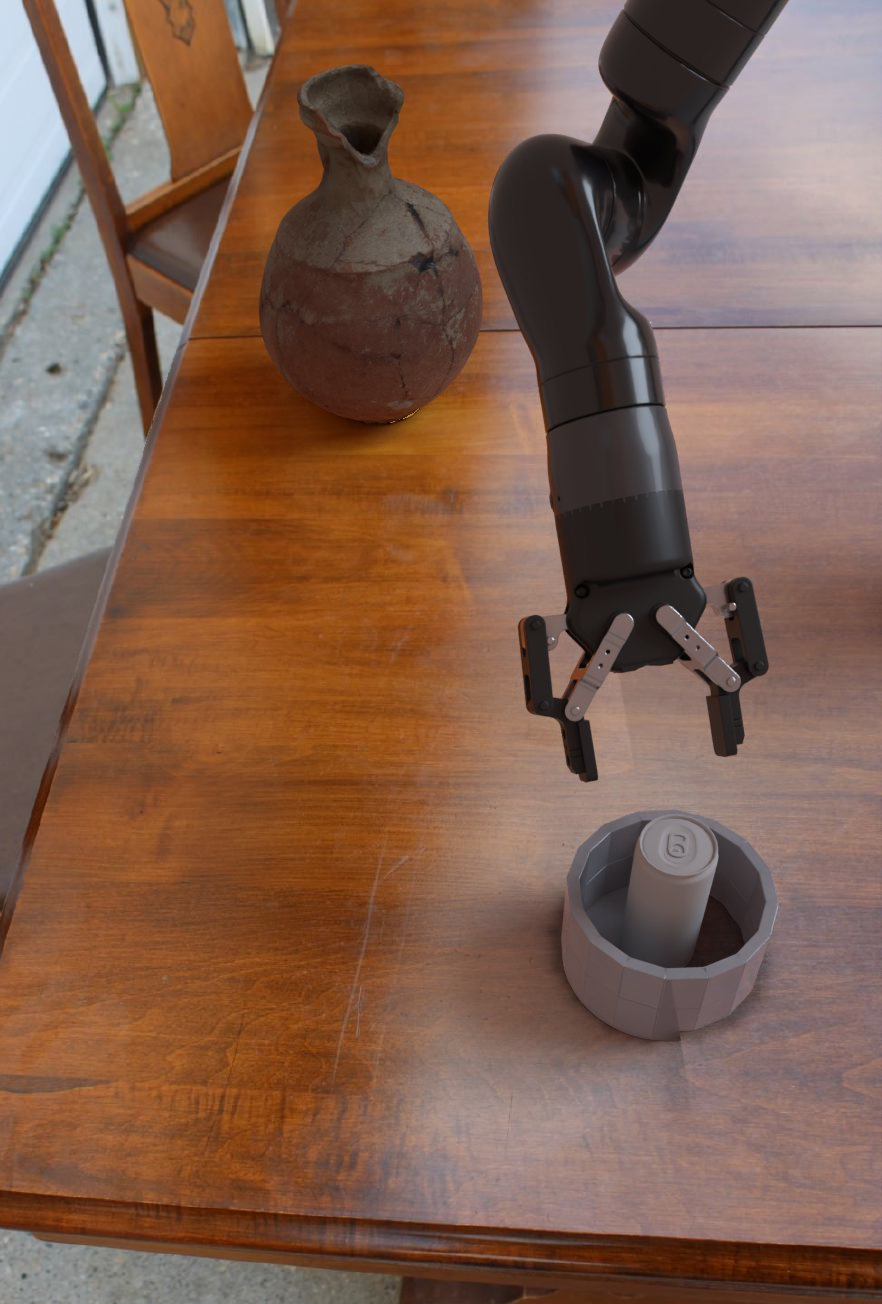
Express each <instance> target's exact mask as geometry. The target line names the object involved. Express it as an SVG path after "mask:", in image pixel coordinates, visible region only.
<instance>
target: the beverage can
mask: <svg viewBox="0 0 882 1304" xmlns="http://www.w3.org/2000/svg"><path fill="white" fill-rule="evenodd" d="M717 862H718V844H717V840H716V838H715V835H714V833H713V832H712V831H711V830H710V829H709V827H708V826H706V825H705V824H704V823H702V822H701V821H699V820H697V819H695V818H693V817H690V816H686V815H681V814H670V815H664V816H660V817H658V818H656V819H653V820H652V821H651V822H649V823H648V824H647V825H646V826H645V827H644V829H643V830H642V832H641V835H640V836H639V838H638V840H637V844H636V847H635V853H634V859H633V865H632V871H631V877H630V883H629V889H628V895H627V901H626V908H625V914H624V920H623V926H622V932H621V938H620V948H621V951H622V952H623V953H625V954H626V955H628V956H629V957H630V958H634V959H637V960H640V961H644V962H647V963H650V964H653V965H657V966H660V967H663V968H686V967H687V966H688V965H689V964H690V962H691V961H692V959H693V957H694V953H695V951H696V950H695V949H696V945H697V943H698V938H699V935H700V931H701V927H702V923H703V919H704V915H705V912H706V908H707V904H708V900H709V897H710V895H709V893H710V889H711V885H712V881H713V878H714V874H715V870H716V866H717Z"/></svg>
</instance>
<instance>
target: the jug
mask: <svg viewBox="0 0 882 1304" xmlns="http://www.w3.org/2000/svg"><path fill="white" fill-rule="evenodd" d="M405 99H406V97H405V92H404V91H403V89H402V87H401V86H400V85H399V84H398V83H396V82H394V81H391V80H389V79H387V78H385V77H383V76H382V75H381V74H380V73H379V72H378V71H377V70H376V69H375V68H374V67H373V66H371V65H370V64H364V63H354V64H352V63H351V64H345V65H340V66H335V67H332V68H329V69H325V70H323V71H320V72H318V73H316V74H314V75H313V76H310V77H309V78H308V79H307V80H305V81H304V82H303V83H302V85H301V86H300V88H299V90H298V91H297V93H296V101H297V104H298V115H299V118H300V121H302V123H303V125H304V126H305V127H306V128H307V129H309V130H311V131H312V132H313V134H314V137H315V138H316V146H317V151H318V154H319V157H320V162H321V164H322V168H323V170H322V178H321V180H320V182H319V184H318V186H317V187H316V188H315V189H314V190H312V192H310V193H309V194H307V195H306V196H304V197H303V198H301V199H300V200H299V201H298V202H296V203H295V205H293V206H292V207H291V208H290V209H289V210H288V211H287V212H286V213H285V215H283V217H282V219H281V221H280V223H279V225H278V226H277V229H276V233H275V236H274V239H273V241H272V243H271V246H270V249H269V251H268V255H267V257H266V261H265V265H264V270H263V274H262V279H261V285H260V291H259V300H258V301H259V302H258V318H259V319H258V320H259V327H260V334H261V337H262V340H263V343H264V346H265V349H266V351H267V353H268V355H269V357H270V360H272V363H273V364H274V366H275V367H276V370H278V372H279V373H280V374H281V376H282V377H283V378H284V380H285V381H286V382H287V383H288V384H289V385H290V386H291V387H292V388H293V389H294V390H295V391H296V392H297V393H298V394H300V396H301V397H303V398H305V400H308V401H309V402H311V403H312V404H314V405H315V406H317V407H318V408H321V409H322V410H324V411H326V412H329V413H331V414H334V415H335V416H338V417H341V418H345V419H351V420H354V421H358V422H359V421H362V422H364V423H365V424H366V423H367V424H366V425H369V424H368V423H370V424H376V423H375V422H378V423H377V424H388V423H387V422H393V421H397V420H399V419H403V418H405V417H407V416H408V415H410V414H412V413H414V412H415V411H416V410H417V409H418V408H420V407H421V408H423V407H425V406H427V405H429V404H430V403H431V402H433V401H434V400H436V399H437V398H438V397H439V396H441V395H442V394H443V393H444V392H445V391H446V390H447V389H448V388H449V387H450V386H451V384H452V383H453V382H454V381H456V379H457V377H458V376H459V375H460V374H461V372H462V370H464V368H465V366H466V364H467V362H468V361H469V359H470V357H471V355H472V353H473V351H474V349H475V347H476V344H477V341H478V338H479V336H480V333H481V332H480V331H481V326H482V322H483V321H482V320H483V310H484V308H483V307H484V306H483V305H484V298H483V297H484V295H483V284H482V279H481V275H480V271H479V267H478V264H477V260H476V258H475V254H474V252H473V249H472V248H471V246H470V244H469V242H468V240H467V238H466V236H465V234H464V233H463V231H462V229H461V228H460V226H459V224H458V223H457V221H456V220H455V217H454V215H453V213H452V211H451V210H450V208H449V206H447V204H446V203H445V202H444V201H443V200H441V198H440V197H438V196H437V195H436V194H434V193H432V192H431V191H430V190H428V189H426V188H425V187H422V186H420V185H418V184H415V183H412V182H410V181H407V180H406V179H405V180H404V179H402V178H399V177H397V176H393V174H392V170H391V167H390V163H389V148H388V147H389V143H390V139H391V137H392V135H393V133H394V131H395V129H396V127H397V126H398V124H399V119H400V117H399V116H400V113H401V110H402V108H403V105H404V103H405ZM421 408H420V409H421ZM397 422H398V421H397Z"/></svg>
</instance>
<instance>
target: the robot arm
mask: <svg viewBox="0 0 882 1304" xmlns="http://www.w3.org/2000/svg"><path fill="white" fill-rule="evenodd" d="M789 1H790V0H626V1H625V3H624V5H623V8H622V9H620V11H619V13H618V15H617V17H616V19H615V21H614V22H613V23H612V26H611V27H610V30H609V31H608V32H607V35H606V37H605V39H604V41H603V44H602V46H601V48H600V52H599V55H598V60H597V61H598V62H597V63H598V64H597V65H598V67H597V68H598V72H599V76H600V78H601V81H602V83H603V84H604V86H605V87H606V88H607V90H608V91H609V93H610V94H611V95H612V96H611V100H610V103H609V106H608V108H607V110H606V113H605V115H604V117H603V120H602V122H601V125H600V127H599V130H598V132H597V134H596V136H595V138H594V139H593V141H592V142H587V141H585V140H583V139H580V138H576V137H573V136H569V135H565V134H561V133H541V134H537V135H533V136H531V137H528V138H526V139H524V140H523V141H521V142H519V143H518V144H516V145H515V146H514V147H513V148H512V150H510V151H509V152H508V154H507V155H506V156H505V158H504V159H503V161H502V162H501V164H500V166H499V167H498V169H497V171H496V173H495V176H494V178H493V182H492V185H491V189H490V193H489V200H488V209H487V227H488V238H489V244H490V249H491V253H492V257H493V261H494V265H495V267H496V270H497V273H498V277H499V279H500V282H501V284H502V287H503V289H504V292H505V295H506V298H507V300H508V302H509V305H510V308H511V310H512V313H513V315H514V318H515V320H516V324H517V325H518V328H519V331H520V332H521V335H522V338H523V339H524V342H525V343H526V346H527V348H528V350H529V352H530V354H531V357H532V360H533V363H534V367H535V373H536V382H537V387H538V395H539V399H540V400H539V402H540V407H541V414H542V421H543V426H544V433H545V441H546V442H545V443H546V457H547V458H546V464H547V479H548V485H549V495H548V498H549V505H550V509H551V511H552V512H553V518H554V524H555V525H554V526H555V531H556V536H557V544H558V549H559V556H560V562H561V569H562V575H563V581H564V587H565V592H566V604H565V609H564V612H563V614H555V615H547V616H546V615H545V616H542V615H539V614H531V615H528V616H523V617H522V618H521V619H519V621H518V623H517V632H518V643H519V644H518V645H519V652H520V663H521V673H522V682H523V692H524V701H525V708H526V710H527V712H528V713H529V714H530V715H534V716H541V717H546V718H552V719H554V720H555V721H556V722H557V723H558V724H559V726H560V732H561V738H562V744H563V749H564V756H565V763H566V767H567V768H568V770H569V771H570V773H571V774H573V775H578V778H579V780H580V782H584V783H591V782H592V783H593V782H597V781H598V780H599V772H598V765H597V759H596V753H595V748H594V747H595V746H594V740H593V735H592V728H591V722H590V719H585V715H586V713H587V712H588V709H589V707H590V705H591V702H592V701H593V699H594V698H595V695H596V693H597V691H598V690H599V689H600V688H602V686H603V684H604V682H605V681H606V680H607V679H606V678H607V677H608V674H609V673H612V674H625V673H630V672H635V671H638V670H639V669H641V668H644V667H662V666H669V665H672V664H674V662H676V661H677V662H678V663H679V664H681V666H683V667H684V668H685V669H687V670H688V671H690V672H691V673H692V674H693V675H695V676H696V677H697V678H698V679H699V680H700V681H701V682H702V683H703V684H704V685H705V686H706V687H707V688H708V689H709V692H710V694H709V695H705V699H706V700H705V701H706V707H707V714H708V720H709V726H710V727H709V728H710V732H711V733H710V734H711V740H712V748H713V751H714V754H715V756H717V757H721V758H726V757H733V756H737V754H738V746H739V745H743V744H744V740H745V736H746V733H745V727H744V721H743V713H742V706H741V699H740V692H741V689H742V688H743V686H744V685H746V684H747V683H749V682H750V681H752V680H754V679H755V678H757V677H762V676H764V675H766V674H767V673H768V671H769V669H770V663H769V658H768V654H767V649H766V644H765V639H764V634H763V629H762V623H761V618H760V613H759V609H758V604H757V599H756V594H755V589H754V584H753V581H752V580H751V579H750V578H749V577H746V576H740V577H733V578H729V579H727V580H723V581H722V582H721V583H720V584H715V585H711V586H707V587H703V586H702V585H701V584H700V582H699V581H698V578H697V575H696V573H695V566H694V565H695V563H694V557H693V556H694V555H693V549H692V543H691V536H690V529H689V521H688V515H687V507H686V502H685V493H684V488H683V480H682V474H681V467H680V460H679V453H678V448H677V443H676V439H675V436H674V432H673V429H672V427H671V423H670V419H669V414H668V409H667V407H666V406H667V403H666V396H665V390H664V383H663V375H662V368H661V362H660V356H659V350H658V345H657V339H656V336H655V332H654V329H653V326H652V323H651V322H650V320H649V319H648V317H647V316H646V315H645V314H644V313H643V312H642V311H640V310H639V309H637V308H636V307H635V306H634V305H632V304H631V303H630V302H628V300H626V298H624V296H623V295H622V293H621V291H620V289H619V287H618V283H617V280H616V277H618V276H620V275H621V274H623V273H624V272H626V271H627V270H628V269H629V268H631V267H632V266H633V265H634V264H635V263H637V261H638V260H639V259H640V258H641V257H642V256H643V255H644V254H645V253H646V252H647V250H648V249H649V248H650V247H651V246H652V244H653V243H654V242H655V240H656V239H657V237H658V236H659V234H660V232H661V231H662V229H663V227H664V226H665V224H666V223H667V220H668V219H669V216H670V214H671V212H672V210H673V207H674V205H675V203H676V201H677V199H678V196H679V194H680V192H681V189H682V187H683V185H684V182H685V181H686V178H687V176H688V173H689V171H690V169H691V166H692V164H693V162H694V160H695V157H696V156H697V153H698V151H699V149H700V146H701V143H702V140H703V137H704V134H705V131H706V129H707V126H708V124H709V121H710V119H711V117H712V115H713V113H714V112H715V110H716V108H717V107H718V106H719V105H720V103H721V102H722V101H723V99H724V98H725V96H726V95H727V94H728V93H729V91H730V88H731V87H732V86H733V85H734V83H735V82H736V80H737V79H738V77H739V76H740V74H741V73H742V72H743V70H744V69H745V67H746V66H747V64H748V63H749V61H750V60H751V59H752V57H753V55H754V54H755V52H756V51H757V50H758V48H759V46H760V45H761V43H762V42H763V40H764V39H765V38H766V36H767V34H768V33H769V32H770V30H771V29H772V27H773V26H774V24H775V23H776V21H777V20H778V18H779V17H780V15H781V14H782V12H783V10H785V8H786V7H787V5H788V4H789ZM707 605H708V606H709V607H710V608H711V609H712V611H713V613H714V615H715V616H716V618H719V619H723V621H724V625H725V631H726V635H727V641H728V645H729V649H730V650H729V651H730V655H731V660H732V663H730V664H728V663H727V662H726V661H725V660H724V659H723V658H722V657H720V655H719V652H718V651H717V649H716V648H714V647H713V646H712V645H711V644H710V643H709V642H708V641H707V640H706V639H705V638H704V637H703V636H702V635H701V634H700V633H699V632H698V631H697V630H695V629H696V628H697V625H698V624H699V622H700V620H701V618H702V615H703V614H704V613H705V609H706V607H707ZM564 631H565V633H566V634H567V636H569V637H570V638H571V639H572V641H573V642H575V643H576V644H577V645H578V646H579V647H580V648H581V649H582V650H583V651H582V654H581V655H580V657H579V659H578V662H577V663H576V665H575V666H574V669H573V670H572V673H571V675H570V677H569V682H568V684H567V685H566V688H565V690H564V692H563V694H562V695H561V698H560V697H554V694H553V693H554V692H553V684H552V675H551V674H552V673H551V664H550V655H549V654H550V653H549V652H551V651H553V650H555V649H556V648H557V646H558V644H559V637H560V635H561V634H562V633H563V632H564Z"/></svg>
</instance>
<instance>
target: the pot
mask: <svg viewBox="0 0 882 1304" xmlns="http://www.w3.org/2000/svg"><path fill="white" fill-rule="evenodd" d="M670 814H681V815H686V816H690V817H693V818H695V819H697V820H699V821H701V822H702V823H704V824H705V825H706V826H708V827H709V829H710V830H711V831H712V832H713V833H714V835H715V838H716V840H717V844H718V862H717V866H716V870H715V874H714V878H713V881H712V885H711V889H710V893H709V897H712V898H713V899H714V900H716V901H718V902H719V903H720V904H722V905H723V906H724V908H725V909H726V910H727V912H728V913H729V915H730V916H731V917H732V919H733V920H734V921H735V923H736V924H737V926H738V927H739V928H740V931H741V935H742V936H741V937H742V940H743V946H742V947H741V948H740V949H739V950H738V951H737V952H736V953H734V954H732V955H730V956H727V957H725V958H722V959H719V960H718V961H715V962H712V963H711V964H708V965H705V966H697V967H695V966H694V967H690V966H689V967H684V968H663V967H660V966H657V965H653V964H650V963H647V962H644V961H640V960H637V959H634V958H630V957H629V956H628V955H626V954H625V953H623V952H622V951H621V948H620V938H621V932H622V926H623V920H624V914H625V908H626V901H627V895H628V889H629V883H630V877H631V871H632V865H633V859H634V853H635V847H636V844H637V840H638V838H639V836H640V835H641V832H642V830H643V829H644V827H645V826H646V825H647V824H648V823H649V822H651V821H652V820H653V819H656V818H658V817H660V816H664V815H670ZM774 881H775V880H774V877H773V873H772V871H771V868H770V867H769V865H768V864H767V863H766V861H765V860H764V859H763V858H762V856H761V855H760V854H759V853H758V851H757V850H756V849H755V848H754V846H753V845H752V843H751V842H750V841H749V840H748V839H746V838H744V837H743V836H741V835H739V834H738V833H736V832H735V831H733V830H732V829H730V828H729V827H728V826H726V825H725V824H722V823H721V822H719V821H718V820H716V819H713V818H710V817H705V816H702V815H699V814H694V813H691V812H688V811H683V810H679V809H659V810H638V811H634V812H632V813H629V814H627V815H624V816H622V817H618V818H617V819H613V820H611V821H610V822H606V823H604V824H602V825H601V826H600V827H599V828H598V829H597V830H596V831H595V832H594V833H592V834H591V835H590V836H589V837H588V838H587V839H586V840H585V841H584V842H583V843H582V844H581V845H580V846H579V847H578V848H577V849H576V852H575V856H574V858H573V859H572V862H571V865H570V867H569V871H568V873H567V874H566V882H565V893H564V904H563V914H562V924H561V935H560V943H561V959H562V965H563V970H564V973H565V977H566V979H567V982H568V984H569V985H570V987H571V989H572V991H573V993H574V994H575V996H576V997H577V999H578V1000H579V1001H580V1002H581V1003H582V1005H584V1006H585V1008H586V1009H587V1010H588V1011H589V1012H591V1014H593V1015H594V1016H595V1017H596V1018H598V1019H599V1020H600V1021H602V1022H603V1023H605V1024H607V1025H608V1026H610V1027H612V1028H613V1029H616V1030H617V1031H619V1032H622V1033H624V1034H628V1035H629V1036H633V1037H636V1038H640V1039H644V1040H651V1041H657V1042H658V1041H659V1042H661V1041H662V1042H676V1041H682V1038H681V1032H693V1031H696V1030H699V1029H701V1028H704V1027H706V1026H708V1025H710V1024H713V1023H715V1022H718V1021H720V1020H723V1019H725V1018H727V1017H729V1016H730V1015H731V1014H732V1013H733V1012H734V1011H735V1010H736V1009H737V1008H738V1006H739V1005H740V1004H741V1003H742V1002H743V1001H744V1000H746V998H747V997H748V995H750V993H751V992H752V991H753V989H754V986H755V983H756V980H757V977H758V974H759V971H760V969H761V966H762V962H763V961H764V957H765V954H766V951H767V948H768V945H769V942H770V940H771V937H772V933H773V931H774V930H773V929H774V926H775V922H776V919H777V915H778V910H779V907H780V902H779V898H778V894H777V893H778V892H777V889H776V886H775V882H774Z"/></svg>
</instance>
